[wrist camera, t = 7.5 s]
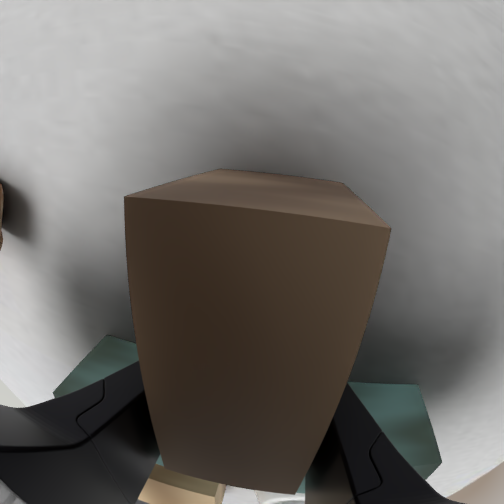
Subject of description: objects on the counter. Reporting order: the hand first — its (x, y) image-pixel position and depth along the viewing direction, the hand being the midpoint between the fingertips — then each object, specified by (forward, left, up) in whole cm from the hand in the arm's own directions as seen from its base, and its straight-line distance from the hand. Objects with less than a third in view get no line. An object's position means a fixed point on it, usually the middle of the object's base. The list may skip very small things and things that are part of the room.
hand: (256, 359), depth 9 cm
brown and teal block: (0, -1, -1) cm, 2 cm away
